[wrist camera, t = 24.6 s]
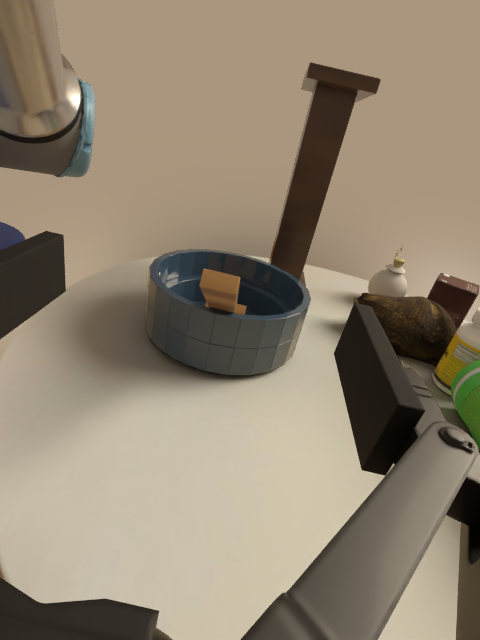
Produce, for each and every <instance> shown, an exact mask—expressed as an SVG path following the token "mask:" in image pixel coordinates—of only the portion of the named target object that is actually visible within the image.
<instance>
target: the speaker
mask: <svg viewBox="0 0 480 640" xmlns="http://www.w3.org/2000/svg"><path fill="white" fill-rule="evenodd" d="M451 393H452V398H453V401H454V404H455V407H456V409H457V411H458V413H459V415H460V417H461V418H462V420H463V421H464V422H465V424H466V425H467V427H468V428H469V430H470V432H471V434H472V437H473V439H474V441H475V442H476V444H477V446H478V448H479V450H480V360H478V361H475V362H473V363H471V364H469V365H467V366H465V367H464V368H463V369H462V370H460V371H459V372H458V373H457V375H456V376H455V377H454V379H453V382H452V385H451Z"/></svg>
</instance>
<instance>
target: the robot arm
mask: <svg viewBox="0 0 480 640" xmlns="http://www.w3.org/2000/svg"><path fill="white" fill-rule="evenodd" d="M54 6H55V5H54V0H0V167H4V168H11V169H18V170H24V171H32V172H39V173H45V174H52V175H54V176H56V177H64V176H69V177H81V176H83V175H85V174H86V173H87V171H88V169H89V165H90V160H91V152H92V146H91V145H92V141H93V134H94V114H95V113H94V111H95V107H94V106H95V104H94V92H93V89H92V87H91V86H90V84H88V83H87V82H84V81H82V80H81V79H79V78H77V76H76V73H75V71H74V69H73V68H72V66H71V65H70V63H69V62H68V60H67V59H66V58H65V57H64V56H63V55H62V53H61V50H60V43H59V36H58V28H57V21H56V14H55V7H54ZM65 291H66V289H65V264H64V239H63V235H61V234H57V233H52V232H48V231H45V232H43V233H40V234H38V235H36V236H33V237H31V238H29V239H26V240H24V241H21V242H19V243H17V244H14V245H12V246H9V247H7V248H5V249H2V250H0V339H1V338H3V337H4V336H5V335H7V334H8V333H9V332H11V331H12V330H13V329H15V328H16V327H18V326H19V325H20V324H21V323H23V322H24V321H26V320H27V319H29V318H30V317H31V316H33V315H34V314H35V313H37V312H38V311H39V310H41V309H42V308H43V307H45V306H46V305H48V304H49V303H50V302H52V301H53V300H54V299H56V298H57V297H58V296H60V295H61V294H63V293H64V292H65ZM334 355H335V360H336V364H337V368H338V372H339V376H340V381H341V385H342V389H343V393H344V397H345V402H346V406H347V410H348V414H349V418H350V423H351V427H352V431H353V435H354V439H355V444H356V448H357V452H358V456H359V460H360V465H361V469H362V470H364V471H368V472H373V473H377V474H381V475H386V474H387V472H388V471H389V469H390V468H391V466H392V464H393V463H394V465H395V466H394V467H393V468H392V469H391V470H390V471H389V473H388V474H387V475H386V476H385V477H384V479H383V480H382V481H381V482H380V483H379V484H378V486H377V487H376V488H375V489H374V490H373V492H372V493H371V494H370V495H369V496H368V497H367V499H366V500H365V501H364V502H363V503H362V504H361V506H360V507H359V508H358V509H357V510H356V512H355V513H354V514H353V515H352V516H351V517H350V519H349V520H348V521H347V522H346V523H345V525H344V526H343V527H342V528H341V529H340V530H339V532H338V533H337V534H336V535H335V536H334V538H333V539H332V540H331V541H330V542H329V543H328V545H327V546H326V547H325V548H324V549H323V550H322V552H321V553H320V554H319V555H318V556H317V558H316V559H315V560H314V561H313V562H312V563H311V565H310V566H309V567H308V568H307V569H306V571H305V572H304V573H303V574H302V575H301V576H300V578H299V579H298V580H297V581H296V582H295V583H294V585H293V586H292V587H291V588H290V589H289V590H288V591H287V592H286V593H282V594H281V595H280V596H279V597H278V598H277V599H276V600H275V601H274V602H273V603H272V604H271V605H270V606H269V607H268V608H267V610H266V611H265V612H264V613H263V614H262V615H261V617H260V618H259V619H258V620H257V621H256V622H255V624H254V625H253V626H252V627H251V628H250V629H249V631H248V632H247V633H246V634H245V635H244V636H243V637H242V639H241V640H378V638H379V636H380V634H381V633H382V631H383V629H384V627H385V625H386V623H387V622H388V620H389V618H390V616H391V614H392V612H393V611H394V609H395V607H396V605H397V603H398V601H399V600H400V598H401V596H402V594H403V592H404V590H405V588H406V587H407V585H408V583H409V581H410V579H411V577H412V576H413V574H414V572H415V570H416V568H417V566H418V565H419V563H420V561H421V559H422V557H423V555H424V554H425V552H426V550H427V548H428V546H429V544H430V543H431V541H432V539H433V537H434V535H435V533H436V531H437V530H438V528H439V526H440V524H441V522H442V520H443V519H444V517H445V515H447V516H449V517H451V518H453V519H455V520H457V521H459V522H461V535H460V558H459V581H458V604H457V626H456V640H480V453H479V448H478V446H477V444H476V442H475V441H474V440H473V439H472V438H471V437H470V436H469V435H468V434H467V433H466V432H464V431H463V430H462V429H460V428H459V427H457V426H455V425H453V424H451V423H447V421H446V419H445V417H444V416H443V414H442V412H441V410H440V409H439V407H438V405H437V403H436V402H435V400H434V399H432V398H433V396H432V395H431V393H430V391H428V388H427V386H426V384H425V383H424V381H423V379H422V378H421V377H420V376H419V375H418V374H417V373H416V372H415V371H414V370H413V369H409V368H405V367H402V365H401V363H400V361H399V359H398V357H397V355H396V353H395V351H394V349H393V347H392V345H391V343H390V341H389V340H388V338H387V336H386V334H385V332H384V330H383V328H382V326H381V324H380V322H379V320H378V318H377V316H376V314H375V312H374V311H373V309H372V307H371V306H367V305H362V304H358V303H354V305H353V308H352V310H351V313H350V315H349V318H348V320H347V323H346V325H345V327H344V330H343V332H342V335H341V337H340V340H339V342H338V345H337V347H336V350H335V352H334ZM158 614H159V611H157V610H153V609H149V608H144V607H140V606H135V605H131V604H126V603H122V602H118V601H113V600H109V599H97V600H85V601H72V602H60V603H48V604H44V603H39V602H37V601H35V600H34V599H32V598H31V597H29V596H28V595H26V594H24V593H23V592H21V591H20V590H18V589H17V588H15V587H14V586H12V585H11V584H9V583H8V582H6V581H5V580H3V579H2V578H0V640H172V639H171V638H170V637H169V636H168V635H166V634H165V633H163V632H162V631H160V630H159V629H157V628H156V624H157V619H158Z"/></svg>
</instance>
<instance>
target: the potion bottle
mask: <svg viewBox="0 0 480 640" xmlns="http://www.w3.org/2000/svg"><path fill="white" fill-rule="evenodd" d="M401 250H402V248H401ZM396 256H397V253H396ZM396 256H395V258H394V263H393V264H390V265H386V268H387V269H388V270H382V271H380V272H378V273H376V274H375V275H374V276H373V277H372V278H371V280H370V282H369V286H368V291H369V294H374V295H375V294H378V295H385V296H392V297H404V296H405V294H406V291H407V282H406V280H405V278H404V276H403V275H402V274H403V273H406V272H405V270H404V269H403V268H402V267H401V266H402V265H403V264H404V263H405V261H404V260H403V259H401V258H396Z"/></svg>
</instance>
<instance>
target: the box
mask: <svg viewBox="0 0 480 640" xmlns="http://www.w3.org/2000/svg"><path fill="white" fill-rule="evenodd" d="M478 293H479V285H476V284H473V283H470V282H467V281H464V280H461V279H458V278H455V277H453V276H450V275H446V274H443V273H440V275H439V276H438V278H437V280H436V282H435V283H434V285H433V287H432V289H431V291H430V293H429V295H428V297H427V299H429V300H432V301H434V302H436V303H438V304H439V305H440V306H441V307H442V308H443V309H444V310H445V311H446V312H447V313H448V314H449V315H450V317H451V319H452V320H453V322H454V324H455V326H456V328H457V330H458V328H459V327H460V325H461V323H462V322H463V320H464V318H465V316H466V315H467V313H468V311H469V309H470V308H471V306H472V304H473V303H474V301H475V299H476V297H477V296H478Z"/></svg>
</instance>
